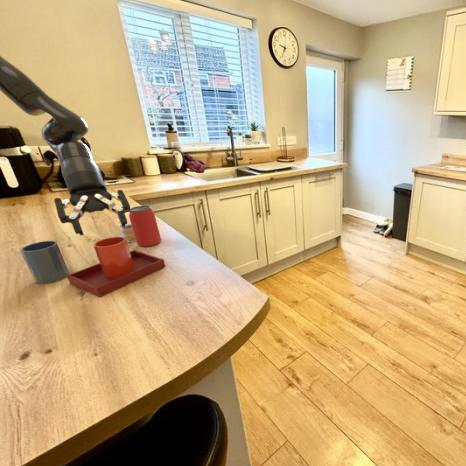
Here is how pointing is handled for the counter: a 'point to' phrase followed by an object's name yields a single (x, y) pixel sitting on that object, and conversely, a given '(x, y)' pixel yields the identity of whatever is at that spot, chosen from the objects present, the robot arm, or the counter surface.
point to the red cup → (114, 257)
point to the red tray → (100, 285)
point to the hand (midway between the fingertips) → (103, 229)
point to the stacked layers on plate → (127, 232)
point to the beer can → (144, 226)
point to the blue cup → (45, 261)
